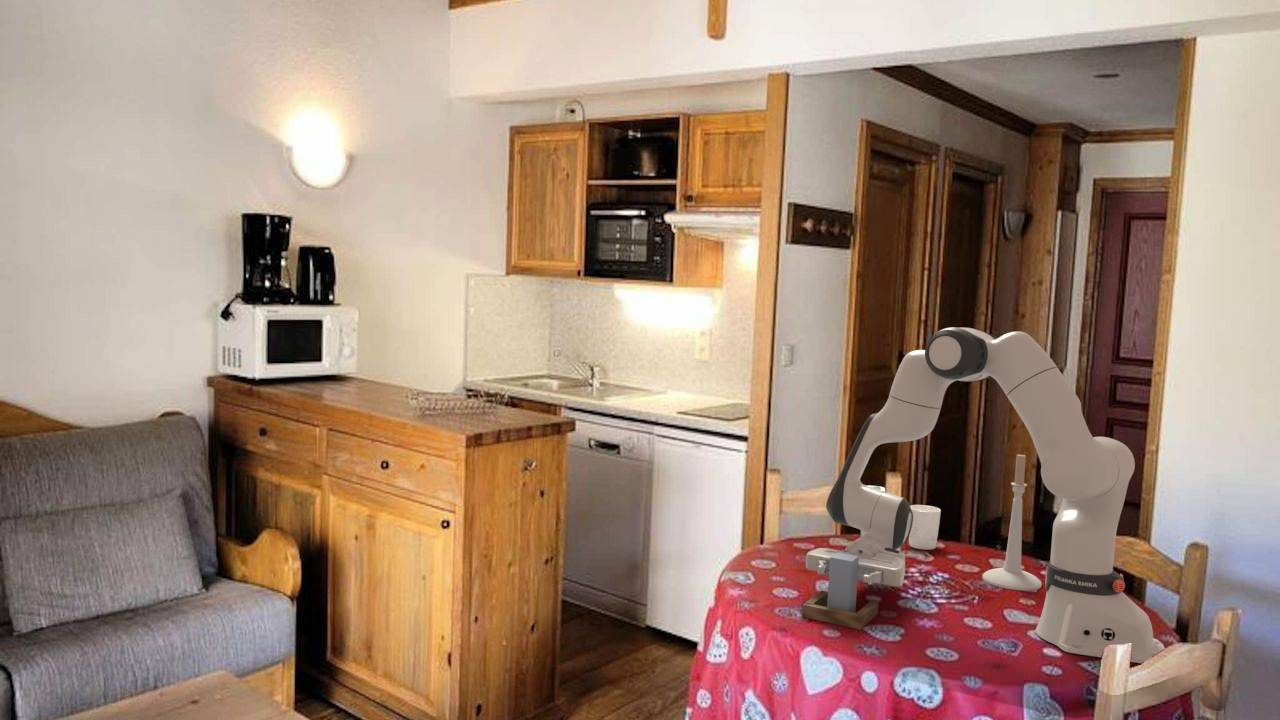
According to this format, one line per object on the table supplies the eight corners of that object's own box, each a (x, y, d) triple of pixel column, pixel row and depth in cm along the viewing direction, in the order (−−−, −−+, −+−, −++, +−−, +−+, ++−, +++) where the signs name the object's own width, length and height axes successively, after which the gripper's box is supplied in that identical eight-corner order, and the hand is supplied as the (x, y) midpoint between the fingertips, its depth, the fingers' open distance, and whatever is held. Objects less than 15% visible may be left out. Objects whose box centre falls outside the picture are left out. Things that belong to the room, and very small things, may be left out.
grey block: (855, 614, 199) (858, 556, 198) (848, 620, 195) (851, 561, 194) (833, 609, 201) (837, 552, 200) (826, 615, 198) (830, 557, 197)
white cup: (900, 545, 255) (903, 507, 254) (917, 540, 260) (919, 503, 259) (927, 552, 249) (930, 513, 248) (944, 547, 254) (946, 509, 254)
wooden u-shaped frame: (877, 613, 200) (878, 601, 200) (860, 629, 190) (861, 617, 190) (821, 601, 206) (821, 590, 206) (802, 616, 196) (802, 604, 196)
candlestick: (980, 570, 234) (989, 446, 232) (1038, 577, 231) (1047, 451, 229) (984, 586, 222) (993, 455, 220) (1044, 593, 219) (1055, 460, 216)
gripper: (818, 537, 215) (795, 551, 203) (912, 554, 205) (894, 569, 193) (816, 565, 215) (793, 581, 203) (910, 583, 205) (892, 601, 193)
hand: (843, 575), depth 198 cm, fingers open, 8 cm apart
